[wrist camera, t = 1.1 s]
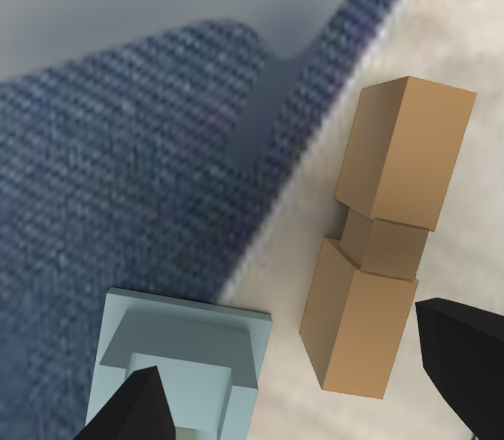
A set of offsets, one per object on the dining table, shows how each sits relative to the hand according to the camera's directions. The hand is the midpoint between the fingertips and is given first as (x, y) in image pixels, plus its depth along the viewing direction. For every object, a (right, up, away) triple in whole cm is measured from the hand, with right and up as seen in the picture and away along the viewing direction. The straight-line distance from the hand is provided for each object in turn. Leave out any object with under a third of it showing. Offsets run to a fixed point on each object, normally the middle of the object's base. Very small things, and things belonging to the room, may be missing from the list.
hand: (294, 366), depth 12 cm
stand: (-6, -7, +11) cm, 14 cm away
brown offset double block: (+4, +4, +10) cm, 11 cm away
